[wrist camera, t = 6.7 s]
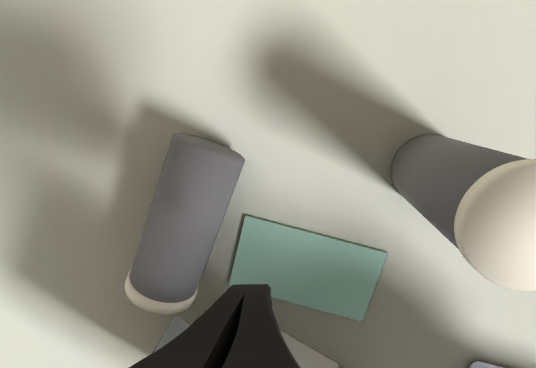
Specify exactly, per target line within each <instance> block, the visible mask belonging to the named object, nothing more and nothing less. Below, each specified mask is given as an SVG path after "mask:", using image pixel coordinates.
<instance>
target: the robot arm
mask: <svg viewBox="0 0 536 368" xmlns="http://www.w3.org/2000/svg"><path fill="white" fill-rule="evenodd" d="M129 368H301V367H300V366H299V365H298V363H297V362H296V360H295V358H294V357H293V355H292V354H291V352H290V350H289V348H288V346H287V345H286V343H285V341H284V339H283V337H282V334H281V332H280V330H279V327H278V325H277V322H276V320H275V317H274V313H273V310H272V301H271V287H270V286H269V285H268V284H237V285H232V286H231V287H230V288H229V289H228V290H227V291H226V292H225V293H224V294H223V295H222V296H221V297H220V298H219V299H218V300H217V301H216V302H215V303H214V304H213V305H212V306H211V307H210V308H209V309H208V310H207V311H206V312H205V313H204V314H203V315H202V316H201V317H199V318H198V319H197V320H196V321H195V322H194V323H193V324H191V325H190V326H189V327H188V328H187V329H186V330H185V331H183V332H182V333H181V334H180V335H178V336H177V337H176V338H174V339H173V340H172V341H170V342H169V343H167V344H166V345H164V346H163V347H162V348H160V349H159V350H157V351H156V352H154V353H152V354H151V355H149V356H147V357H146V358H144V359H142V360H141V361H139V362H138V363H136V364H134V365H133V366H131V367H129ZM470 368H503V367H499V366H495V365H492V364H488V363H484V362H480V361H477V362H474V363H472V364H471V366H470Z"/></svg>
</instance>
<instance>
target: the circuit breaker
mask: <svg viewBox="0 0 536 368" xmlns="http://www.w3.org/2000/svg"><path fill="white" fill-rule="evenodd" d="M190 325H191V324H189V323H187V322H185V321H184V320H182V319H180V318H178V317H174V318H173V320H172V322H171V323H170V325H169V326H168V328H167V330H166V331H165V333H164V335H163V336H162V338H161V340H160V341H159V343H158V345H157V346H156V348H155V349H154V351H153V353H154V352H156V351H157V350H159V349H160V348H162V347H163V346H164V345H166V344H167V343H169V342H170V341H172V340H173V339H174V338H176V337H177V336H178V335H180V334H181V333H182V332H183V331H185V330H186V329H187V328H188V327H189V326H190ZM280 332H281V334H282V337H283V339H284V341H285V343H286V345H287V346H288V348H289V350H290V352H291V354H292V355H293V357H294V358H295V360H296V362H297V363H298V365H299V366H300V367H301V368H338V363H336V362H334V361H333V360H331V359H329V358H327V357H326V356H324V355H322V354H320V353H319V352H317V351H315V350H314V349H312V348H310V347H308V346H307V345H305V344H303V343H301V342H300V341H298V340H296V339H295V338H293V337H291V336H289V335H288V334H286V333H284V332H283V331H281V330H280Z"/></svg>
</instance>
